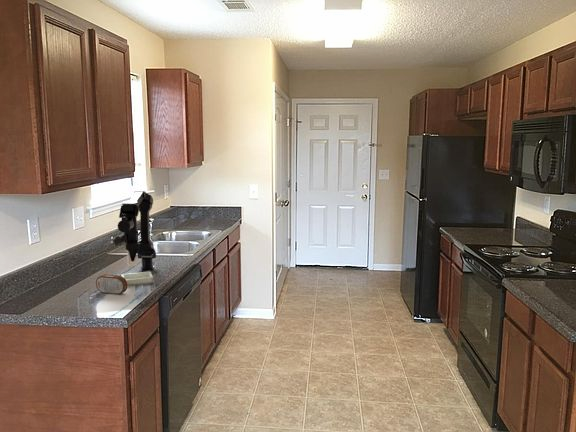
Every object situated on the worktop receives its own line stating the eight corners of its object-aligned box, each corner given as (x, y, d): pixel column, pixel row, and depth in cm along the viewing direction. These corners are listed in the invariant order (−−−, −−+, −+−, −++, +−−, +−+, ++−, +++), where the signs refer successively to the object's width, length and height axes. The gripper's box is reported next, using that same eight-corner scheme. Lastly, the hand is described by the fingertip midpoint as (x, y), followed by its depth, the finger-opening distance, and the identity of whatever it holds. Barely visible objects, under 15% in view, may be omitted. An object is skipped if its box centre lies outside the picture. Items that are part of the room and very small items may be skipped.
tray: (121, 280, 234) (121, 274, 234) (150, 277, 239) (150, 271, 239) (122, 286, 223) (122, 280, 223) (153, 283, 228) (153, 277, 228)
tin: (128, 293, 212) (127, 275, 211) (124, 295, 209) (123, 277, 208) (99, 291, 216) (98, 273, 215) (95, 293, 213) (94, 274, 212)
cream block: (127, 264, 230) (127, 246, 229) (136, 264, 232) (135, 246, 231) (128, 266, 227) (127, 248, 225) (137, 266, 228) (136, 247, 227)
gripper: (112, 226, 232) (114, 257, 235) (113, 232, 215) (115, 266, 217) (136, 225, 236) (137, 255, 239) (138, 231, 219) (140, 264, 221)
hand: (132, 260), depth 229 cm, fingers closed on cream block, 4 cm apart
